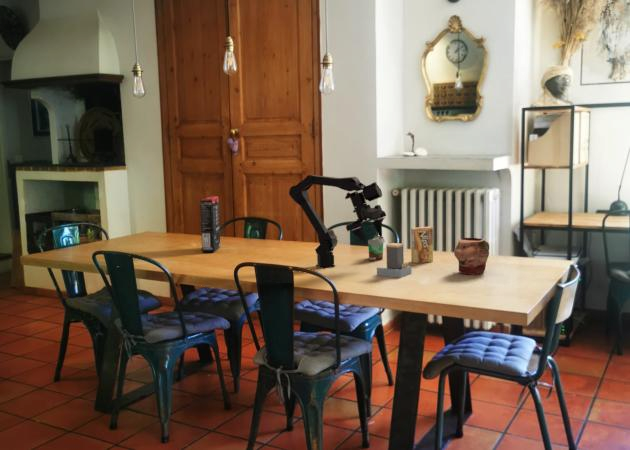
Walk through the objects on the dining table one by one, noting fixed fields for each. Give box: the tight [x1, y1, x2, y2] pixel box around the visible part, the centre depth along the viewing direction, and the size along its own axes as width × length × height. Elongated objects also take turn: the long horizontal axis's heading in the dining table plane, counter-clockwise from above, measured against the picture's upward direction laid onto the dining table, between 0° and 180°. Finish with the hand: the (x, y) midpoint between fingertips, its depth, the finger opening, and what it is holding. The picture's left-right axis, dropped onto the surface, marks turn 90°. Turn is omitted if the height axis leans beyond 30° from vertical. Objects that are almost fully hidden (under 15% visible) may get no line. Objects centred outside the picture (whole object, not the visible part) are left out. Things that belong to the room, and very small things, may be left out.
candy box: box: [410, 226, 434, 264], centre depth 292 cm, size 9×4×15 cm, turn 104°
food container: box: [367, 235, 386, 262], centre depth 301 cm, size 12×6×10 cm, turn 161°
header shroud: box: [376, 262, 413, 279], centre depth 270 cm, size 11×9×5 cm
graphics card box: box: [199, 195, 221, 253], centre depth 339 cm, size 17×7×27 cm, turn 178°
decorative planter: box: [453, 237, 490, 276], centre depth 268 cm, size 20×12×14 cm, turn 134°
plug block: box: [385, 242, 405, 270], centre depth 269 cm, size 5×5×12 cm
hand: (373, 239), depth 281 cm, fingers open, 9 cm apart
